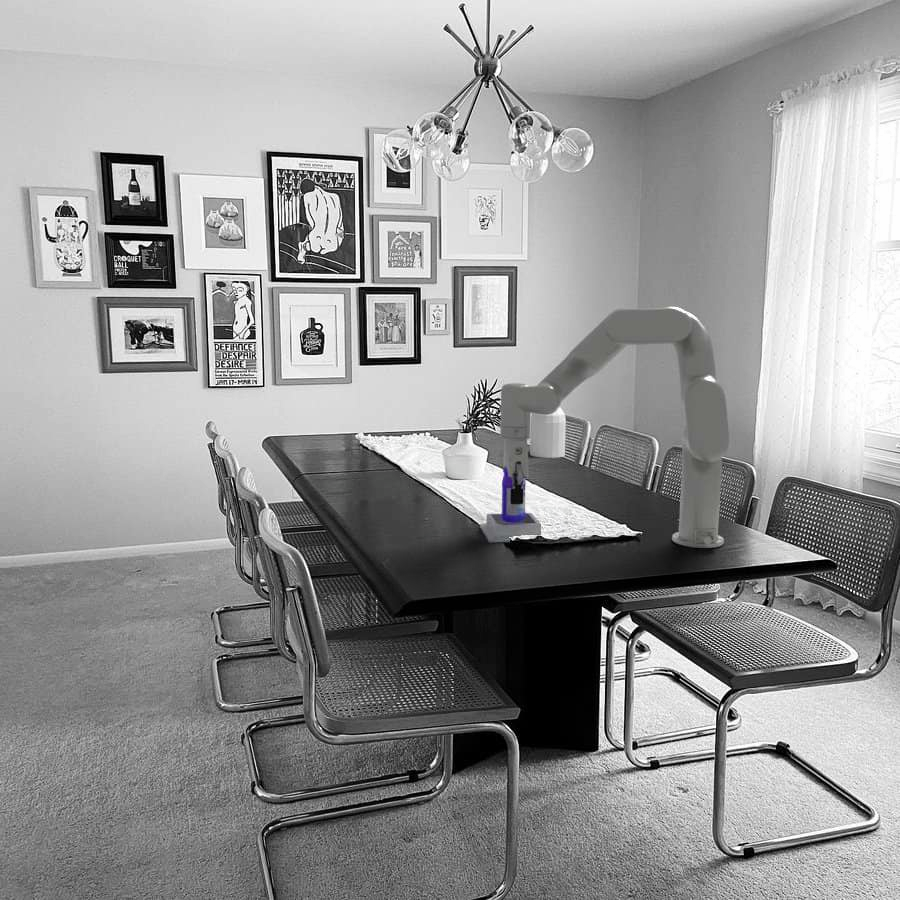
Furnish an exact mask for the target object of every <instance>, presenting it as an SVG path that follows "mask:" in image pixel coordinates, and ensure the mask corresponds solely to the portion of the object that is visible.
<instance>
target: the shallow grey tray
mask: <svg viewBox="0 0 900 900" xmlns="http://www.w3.org/2000/svg"><path fill="white" fill-rule="evenodd" d="M479 528H480V529H481V531H482V533H483V535H484V536H485V538H486V540H487V542H488V543H511V542H510V539H511V538H509V537H513V536H521V535H541V530H542V523H541V522H540V521H539V520H538V519H537V518H536V516H535V515H534V514H533V513H532V512H525V517H524V519H523V520H522V521H520V522H516V523H511V522H505V521H503V519H502V513H486V522H485V524H484V523H480V524H479Z"/></svg>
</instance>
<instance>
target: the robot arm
mask: <svg viewBox="0 0 900 900" xmlns="http://www.w3.org/2000/svg"><path fill="white" fill-rule="evenodd" d="M669 344H670V345H673V347H674V348H675V351H676V354H677V363H678V368H679V369H678V370H679V383H680V384H679V385H680V400H681V402H682V404H683V406H684V411H685V413H684V414H685V422H686V423H685V424H686V425H685V427H684V429H683V433H682V438H681V439H682V440H681V441H682V443H681V448H682V451H681V452H682V453H681V454H682V455H681V456H682V460H681V461H682V463H681V465H682V467H681V480H680V481H681V482H680V483H681V484H680V497H679V498H680V499H679V501H680V502H679V520H678V522H679V523H678V532H675V533H673V534H671V535H672V537H671V540H672V541H673V543H675V544H678V545H680V546H683V547H689V548H698V549H711V548H712V549H713V548H718V547H719V548H720V547H721V546H723V545H724V543H725V539H724V538H723V537H722V536H721V535H719V534H718V533H719V519H720V516H719V515H720V502H721V488H722V487H721V484H722V472H723V471H722V469H723V467H722V465H723V463H722V462H723V461H722V459H723V457H724V456H725V455H726V453H727V451H728V448H729V445H730V433H729V432H730V431H729V419H728V409H727V399H726V393H725V391H724V388H723V386H722V385H721V383H719V381H718V379H717V373H716V372H717V371H716V370H717V369H716V362H715V357H714V355H715V354H714V349H713V343H712V340H711V336H710V334H709V332H708V330H707V329H706V327H705V325H704V324H703V323H702V322H701V321H700V320H699V319H698V318H697V317H696V316H695V315H693V314H692V313H690V312H688V311H686V310H684V309H683V308H680V307H677V306H672V305H671V306H664V307H661V308H659V307H657V308H625V307H619V308H617V309H614V310H613V311H611V312H610V313H608V315H607V316H606V317H605V318H604V319H603V320H602V321H601V322H600V323H598V325H597V326H596V327H594V329H593V330H592V331H591V332H590V333H588V334H587V336H585V337H584V338H583V339H582V340H581V341H580V342H579V343H578V344H577V345H576V346H574V348H573V349H572V350H571V351H569V353H568V355H567V356H566V357H565V358H564V359H563V360H561V362H560V363H559V364H558V365H557V366H556V367H554V369H552V370H551V371H550V372H549V373H548V374H547V375H546V376H544V378H543V379H542V380H541V381H540V382H539V383H537V385H533V386H532V385H530V386H529V385H528V384H527V383H521V382H520V383H517V382H513V383H511V382H510V383H505V384H503V386H502V387H501V389H500V431H499V432H500V436H499V438H500V439H502V440H504V441H503V460H502V461H503V462H502V463H503V469H504V468H505V466H506V468H507V472H508V477H510V478H511V482H512V489H511V497H510V503H511V504H523V491H524V489H523V476H524V478H525V479H528V478H529V450H528V449H529V448H528V440H530V430H531V414H532V413H535V414H541V415H549V414H552V413H554V412H556V411H557V410H558V408H559V407H560V406H561V403H562V402H563V401H564V400H565V399H566V398H567V397H568V396H570V394H571V393H572V392H573V391H574V390H575V389H576V388H578V387H579V386H580V385H581V384H582V383H584V382H585V381H586V380H588V379H590V378H592V377H594V376H595V375H597V374H598V373H600V372H601V371H602V370H603V369H604V368H605V367H606V366H607V365H608V364H609V363H610V362H611V361H612V360H614V358H615V357H616V356H618V355H619V353H620V352H621V351H623V350H624V349H625V348H626V347H627V346H629V345H632V346H633V345H637V346H638V345H639V346H642V345H669ZM515 468H516V469H515ZM522 472H523V474H522ZM513 475H517V476H513ZM514 480H515V483H514Z"/></svg>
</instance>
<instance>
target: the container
mask: <svg viewBox="0 0 900 900" xmlns="http://www.w3.org/2000/svg"><path fill="white" fill-rule="evenodd" d="M566 423H567V419H566V414H565V412H564V410H563V409H562V407H560V406H559V408H558V410H557V411H556V412H554V413H552V414H549V415H541V414H535V413H531V415H530V439H529V440H530V441H529V454H530V456H532V457H536V458H547V459H549V458H551V459H552V458H553V459H554V458H562V457H565V455H566V428H567V427H566V425H567V424H566Z"/></svg>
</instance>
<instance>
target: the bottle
mask: <svg viewBox="0 0 900 900" xmlns="http://www.w3.org/2000/svg"><path fill="white" fill-rule="evenodd" d="M515 469H516V468H515ZM502 472H503V476H502V480H501V514H502V519H503V521H505V522H511V523H516V522H520V521H522V520H523V519H524V517H525V513H526V483H527V481H526V478H524V476H523V489H524V491H523V504H511V503H510V497H511V489H512V482H511V478H510V477H508V472H507V468H506V466H505V468H504V467H503V469H502ZM522 474H523V472H522ZM513 476H517V475H513ZM514 483H515V480H514Z"/></svg>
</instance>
